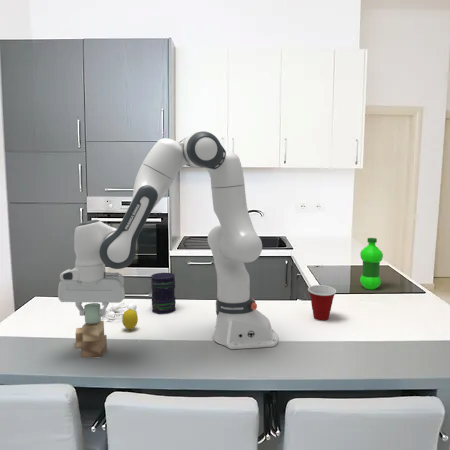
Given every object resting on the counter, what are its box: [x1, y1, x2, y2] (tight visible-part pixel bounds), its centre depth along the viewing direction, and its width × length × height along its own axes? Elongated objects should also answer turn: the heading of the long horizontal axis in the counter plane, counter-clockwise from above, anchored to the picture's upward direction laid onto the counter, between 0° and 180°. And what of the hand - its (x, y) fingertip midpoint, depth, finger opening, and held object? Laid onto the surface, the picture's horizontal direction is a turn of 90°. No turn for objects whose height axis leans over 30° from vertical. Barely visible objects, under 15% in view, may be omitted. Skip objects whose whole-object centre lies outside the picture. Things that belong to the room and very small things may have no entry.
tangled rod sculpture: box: [100, 302, 137, 321], centre depth 165 cm, size 19×14×4 cm
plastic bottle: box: [359, 237, 384, 291], centre depth 202 cm, size 10×10×25 cm
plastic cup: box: [307, 284, 337, 321], centre depth 161 cm, size 11×11×12 cm
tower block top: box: [81, 320, 105, 342], centre depth 130 cm, size 5×5×5 cm
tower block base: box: [80, 334, 108, 358], centre depth 130 cm, size 6×6×5 cm
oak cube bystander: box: [75, 327, 83, 349], centre depth 137 cm, size 5×5×5 cm
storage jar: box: [150, 272, 176, 315], centre depth 171 cm, size 10×10×15 cm
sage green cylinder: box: [83, 302, 102, 324], centre depth 129 cm, size 5×5×5 cm
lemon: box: [121, 309, 139, 331], centre depth 150 cm, size 6×6×8 cm
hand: (92, 315), depth 129 cm, fingers open, 5 cm apart
